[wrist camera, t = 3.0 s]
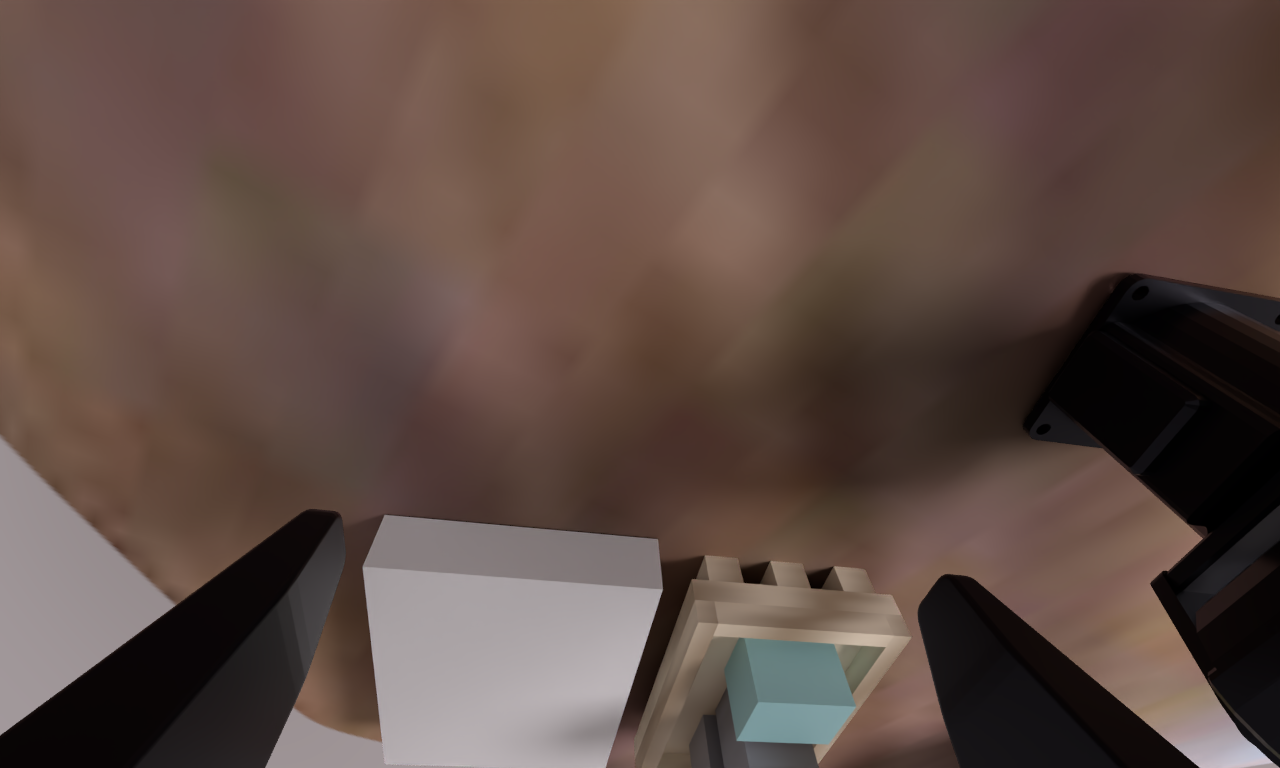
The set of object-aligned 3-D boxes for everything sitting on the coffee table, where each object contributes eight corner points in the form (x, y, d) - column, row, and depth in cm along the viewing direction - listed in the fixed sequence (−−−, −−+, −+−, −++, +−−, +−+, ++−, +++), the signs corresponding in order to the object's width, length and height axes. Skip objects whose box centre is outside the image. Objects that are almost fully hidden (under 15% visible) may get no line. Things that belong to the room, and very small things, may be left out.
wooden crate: (878, 566, 26) (1003, 827, 18) (785, 717, 34) (844, 953, 25) (687, 550, 25) (728, 821, 17) (632, 710, 32) (642, 956, 24)
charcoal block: (781, 718, 29) (797, 786, 26) (763, 747, 30) (777, 814, 28) (703, 714, 28) (712, 784, 26) (688, 744, 30) (696, 813, 27)
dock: (658, 539, 24) (662, 589, 22) (604, 721, 32) (604, 770, 30) (384, 514, 23) (362, 566, 21) (399, 712, 31) (384, 764, 29)
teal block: (831, 636, 25) (856, 706, 22) (807, 674, 27) (828, 744, 24) (742, 630, 24) (758, 702, 22) (724, 669, 26) (736, 741, 24)
